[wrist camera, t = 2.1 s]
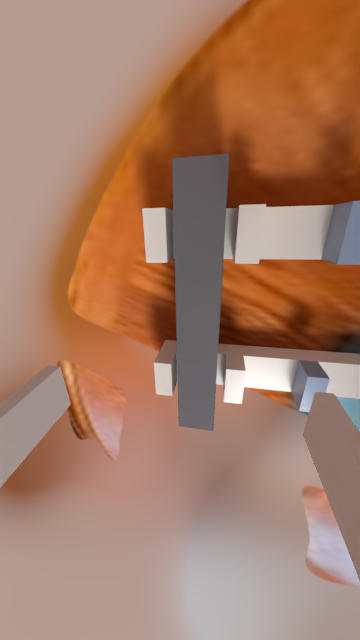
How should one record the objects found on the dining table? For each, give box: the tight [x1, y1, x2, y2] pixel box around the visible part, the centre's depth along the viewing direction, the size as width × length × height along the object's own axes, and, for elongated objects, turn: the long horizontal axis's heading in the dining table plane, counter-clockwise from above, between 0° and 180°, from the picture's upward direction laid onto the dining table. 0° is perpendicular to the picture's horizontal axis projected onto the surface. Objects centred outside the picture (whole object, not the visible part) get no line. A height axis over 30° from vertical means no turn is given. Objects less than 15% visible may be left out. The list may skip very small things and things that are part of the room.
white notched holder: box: [142, 201, 360, 412], centre depth 23 cm, size 20×26×6 cm
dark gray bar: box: [172, 154, 230, 431], centre depth 22 cm, size 26×4×4 cm, turn 1°
